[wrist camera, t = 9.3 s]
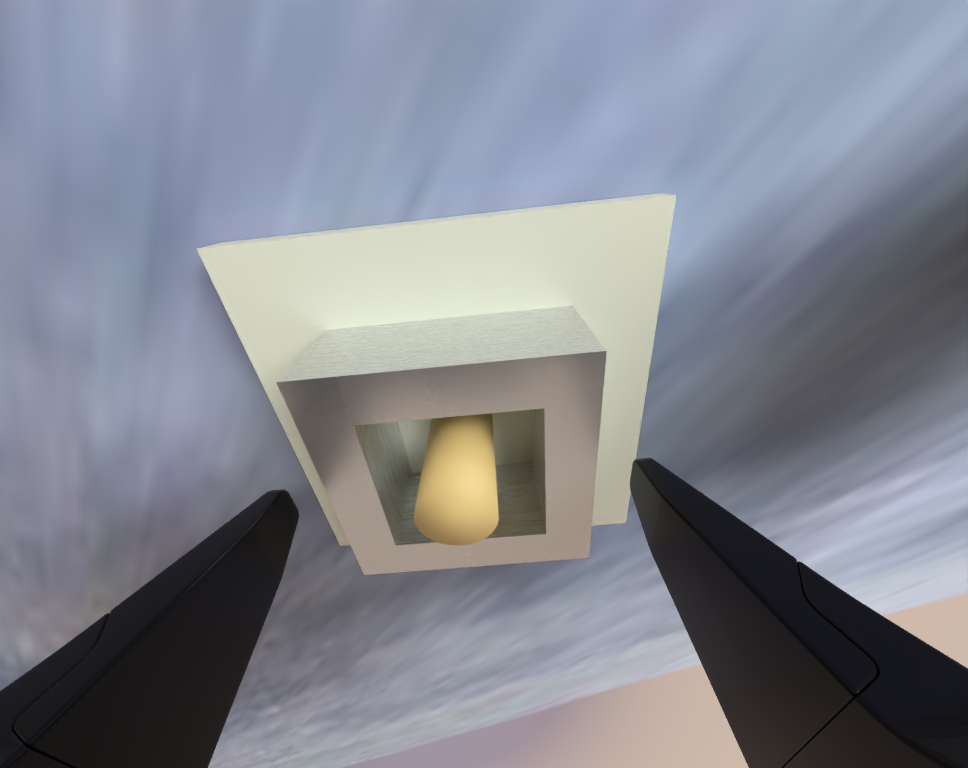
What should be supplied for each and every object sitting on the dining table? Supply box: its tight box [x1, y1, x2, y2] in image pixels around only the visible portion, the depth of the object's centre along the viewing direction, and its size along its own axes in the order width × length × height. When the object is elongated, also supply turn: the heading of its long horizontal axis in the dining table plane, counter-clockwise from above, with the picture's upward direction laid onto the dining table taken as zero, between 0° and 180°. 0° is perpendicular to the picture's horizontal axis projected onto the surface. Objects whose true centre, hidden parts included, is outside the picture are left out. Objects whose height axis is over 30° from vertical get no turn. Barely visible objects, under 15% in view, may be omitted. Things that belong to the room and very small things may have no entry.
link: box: [276, 305, 607, 575], centre depth 11 cm, size 7×7×3 cm
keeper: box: [197, 193, 676, 546], centre depth 11 cm, size 12×12×5 cm
